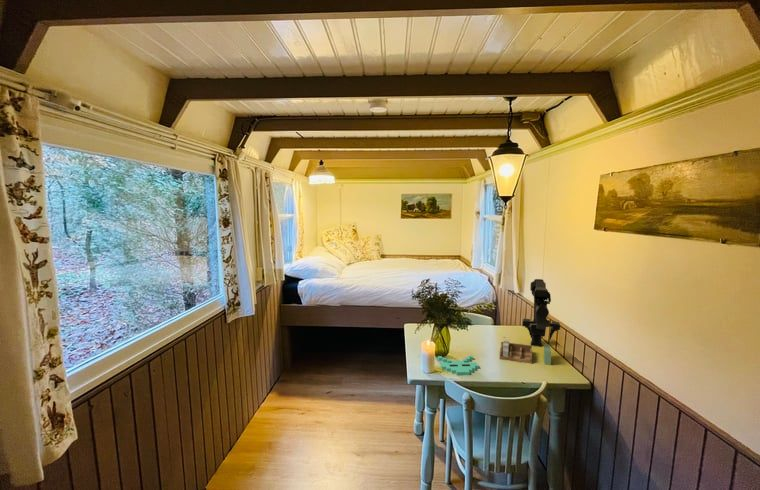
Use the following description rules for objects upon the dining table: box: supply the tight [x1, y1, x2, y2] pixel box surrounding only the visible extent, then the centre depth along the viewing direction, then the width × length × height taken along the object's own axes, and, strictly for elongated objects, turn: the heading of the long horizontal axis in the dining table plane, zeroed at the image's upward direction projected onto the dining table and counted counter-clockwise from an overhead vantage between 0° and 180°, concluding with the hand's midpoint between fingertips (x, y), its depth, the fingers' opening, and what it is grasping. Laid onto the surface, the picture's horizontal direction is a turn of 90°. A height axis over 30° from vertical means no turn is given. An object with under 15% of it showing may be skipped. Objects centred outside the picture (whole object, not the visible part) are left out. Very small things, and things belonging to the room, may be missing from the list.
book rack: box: [499, 338, 533, 365], centre depth 196 cm, size 14×17×8 cm
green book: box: [543, 343, 552, 366], centre depth 188 cm, size 10×3×8 cm, turn 156°
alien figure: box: [437, 355, 480, 376], centre depth 185 cm, size 20×2×20 cm
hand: (540, 338), depth 186 cm, fingers open, 9 cm apart
